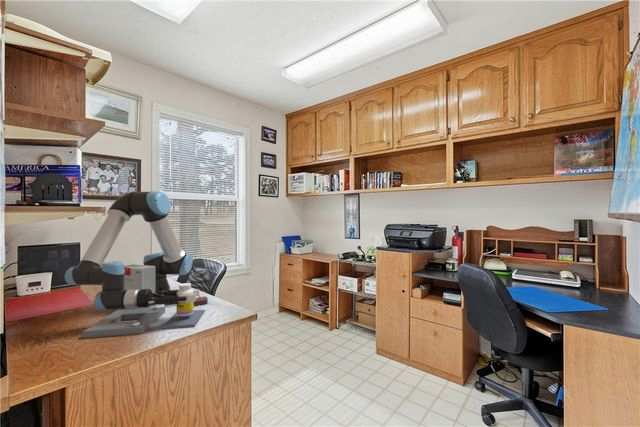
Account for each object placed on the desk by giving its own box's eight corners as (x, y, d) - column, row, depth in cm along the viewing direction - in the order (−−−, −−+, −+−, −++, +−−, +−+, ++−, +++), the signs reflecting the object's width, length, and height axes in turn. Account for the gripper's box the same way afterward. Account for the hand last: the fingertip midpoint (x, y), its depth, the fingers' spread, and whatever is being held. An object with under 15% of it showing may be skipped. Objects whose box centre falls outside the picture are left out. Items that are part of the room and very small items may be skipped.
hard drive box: (119, 307, 140) (118, 266, 140) (133, 302, 147) (133, 264, 147) (142, 310, 135) (142, 268, 135) (156, 305, 142) (156, 265, 142)
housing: (117, 315, 128) (117, 307, 128) (165, 312, 131) (165, 304, 131) (83, 338, 104) (83, 328, 104) (142, 333, 108) (142, 324, 108)
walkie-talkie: (206, 300, 151) (164, 307, 140) (206, 292, 151) (164, 298, 140) (210, 304, 144) (165, 312, 133) (210, 295, 144) (165, 302, 133)
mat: (176, 313, 130) (177, 311, 130) (204, 311, 132) (204, 309, 132) (162, 329, 112) (162, 326, 112) (194, 326, 114) (194, 324, 114)
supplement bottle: (173, 315, 120) (172, 285, 120) (186, 310, 126) (186, 281, 126) (183, 317, 117) (183, 286, 117) (197, 312, 123) (196, 283, 123)
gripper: (149, 300, 128) (202, 297, 132) (127, 315, 109) (191, 311, 113) (149, 284, 128) (202, 281, 132) (127, 296, 109) (191, 292, 113)
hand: (197, 295), depth 123 cm, fingers closed on supplement bottle, 7 cm apart
